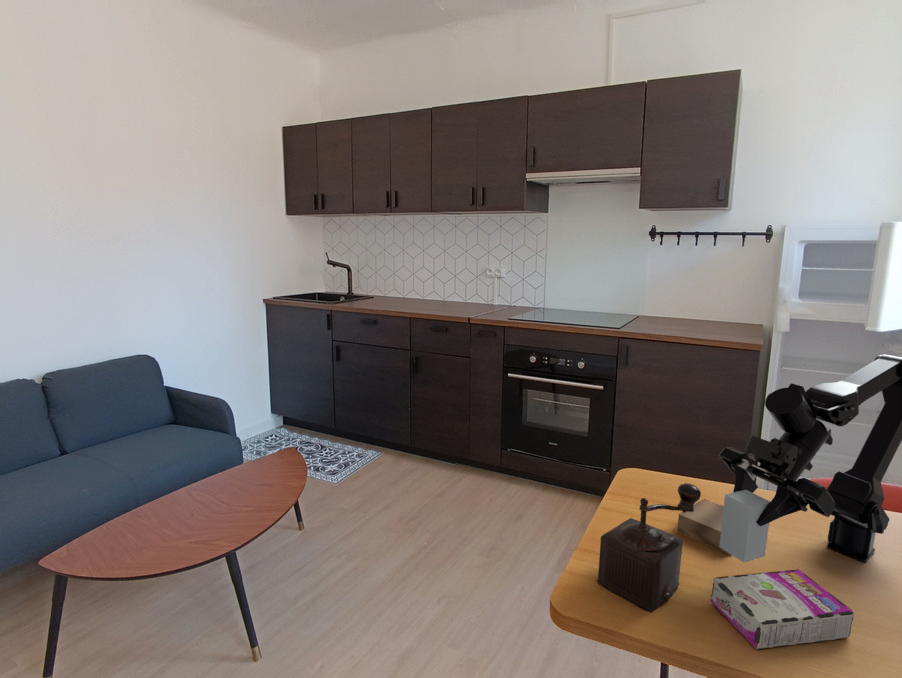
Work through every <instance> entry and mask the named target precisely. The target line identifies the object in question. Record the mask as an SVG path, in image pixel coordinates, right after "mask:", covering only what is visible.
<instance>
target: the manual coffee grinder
mask: <svg viewBox="0 0 902 678" xmlns="http://www.w3.org/2000/svg"><path fill="white" fill-rule="evenodd" d="M677 493H678V495H679V498H680V500H679V502H678V503H677V506H676V505H671V504H663V503H656V504H651V505H648V504H649V500H648V498H646V497H642V498H641V499H640V500H639V501H640V502H639V503H640V505H639V510H640V519H639V520H637V519H635V518H632V517H630V518H628V519H627V520H626V519H625V521H623V522H621V523H620V524H618V525H617V526H615V527H613V528H611V530H608V531H607V532H605V533H604V534H602V535H601V536H600V548H599V559H598V560H599V563H598V575H597V585H599V586H601V587H602V588H604V589H606V591H609V592H611V593H613V594H615V595H616V596H619V597H620V598H622V599H623V600H625V601H627V602H629V603H630V604H632V605H635V606H636V607H638V608H640V609H642V610H643V611H645V612H649V613H652V612H653V611H655V610H657V608H659V607H660V606H662V605H663V604H664V603H666V602H668V601H669V600H670V599H671V598H672V597H673V594H674V593H675V592H676V591H677V590H678V587H679V586H680V575H681V574H680V573H681V564H682V563H681V562H682V553H683V544H684V539H682V538H680V537H678V536H676V535H674V534H672V533H669V532H667V531H665V530H662V529H659V528H657V527H655V526H653V525H650V524H648V523H647V512H652V511H656V510H668V511H669V510H670V511H677V512H678V511H680V512H683V513H685V512H687V511H689V512H694V508H693V505H695V504H696V502H699V501H700V498H701V494H702V493H701V490H700V488H698V486H697V485H694V484H692V483H687V482H685V483H680V484H679V485H678V487H677Z"/></svg>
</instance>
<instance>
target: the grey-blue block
mask: <svg viewBox="0 0 902 678" xmlns="http://www.w3.org/2000/svg"><path fill="white" fill-rule="evenodd" d="M723 500H724V502H723V506H724V509H723V518H722V527H721V536H720V545H719V547H720V548H722V549H723V550H725V551H726V552H728V553H730V554H731V555H730V556H733V558H736V559H737V560H739V561H741V562H742V563H747V562H751V561H754V560H757V559H760V558H763V557H765V556H766V550H767V544H768V542H767V541H768V535H769V534H768V533H769V527H770V522H769V523H767V524H765V525H763V526H759V525H758V524H757V523H756V522H757V520H758V518H759V517H760V515H761V513H762V512H763V511H764V510H765V508H766V507H767V506H768V504H769V503H770V502H771V500H767V499H766V498H763V497H762V496H760V495H758V494H756V493H755V492H753V493H752V492H750V491H748V490H742V491H738V492H734V493H733V492H730V493H725V495H724V499H723Z"/></svg>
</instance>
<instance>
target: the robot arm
mask: <svg viewBox="0 0 902 678" xmlns="http://www.w3.org/2000/svg"><path fill="white" fill-rule="evenodd" d="M880 392H882V397H883V401H884V403H883V406H882V408H881V410H880V412H879V414H878V416H877V418H876V420H875V422H874V424H873V427H872V428H871V430H870V432H869V434H868V435H867V438H866V439H865V441H864V444H863V446H862V448H861V449H860V451H859V453H858V455H857V457H856V459H855V461H854V463H853V465H852V466H851V468H850V469H848V470H846V471H845V472H842V471H840V470H839V471H837V472H836V473H835V474H833V478H832V481H831V483H829V485H828V486H827V487H826V486H824V485H822V484H820V483H817V482H815V481H813V480H810V479H807V478H806V477H801V478H799V477H800V476H802V474H803V472H804V471H805V470H807V471H809V472H810V471H811V470H812V468H813V467H814V466H813V464H812V460H813V459H814V458H815V456H816V454H817V453H818V452H819V451H820V449H821V448H822V447H823V445H824V444H825V445H829V446H831V445H833V440H834V439H833V437H832V430H831V428H828V427H826V425H825V424H824V423H823V422H825V423H826V424H827V423H828V424H831V425H832V426H837V427H844V426H846V425H848V424H849V423H850V422H851V421H853V419H855V418H856V417H857V416H858V415H859V414H860V413H859V412H860V411H859V410H860V406H861V405H862V404H863V403H864V402H866V401H867V400H869V399H871V398H872V397H874V396H875V395H877V394H879V393H880ZM764 404H765V405H764V406H765V408H766V409H767V411H768V413H769V414H770V416H771V417H772V419H773V420H774V421H775V423H776V424H777V426H778V427H779V429H781V431H783V434H781V436H780V438H779V439H778V438H776V437H773V438H771V439H770V441H769V440H766V439H763V438H761V437H758V436H755V435H753V434H751V436H750V437H749V439H748V441H747V443H746V446H745V449H744V452H743V451H741V450H739V449H737V448H735V447H732V446H726V447H724V448H723V449H722V450H721V451H720V453H718V455H717V456H718V458H719V459H720V460H721V461H722V462H723V464H724V465H725V466H726V467H727V469H729V471H730V472H731V473H733V474H734V475H735V479H734V480H735V482H734V485H733V486H734V487H733V492H732V493H734V492H738V491H742V490H748V491H750V492H752V493H755V491H757V489H758V488H759V486H758V485H757V483H756V481H755V479H756V478H757V477H758V478H760V479H761V480H763V481H765V482H768V483H770V484H773V485H774V486H776V491H775V495H774V496H773V498H772V499H771V500H770V503H769V504H768V506H767V507H766V508H765V510H764V511H763V512H762V513H761V515H760V517H759V518H758V520H757V522H756V523H757V524H758V525H759V526H763V525H765V524H767V523H769V524H770V523H771V522H773V521H776V520H778V519H780V518H782V517H784V516H785V517H786V516H787V515H788V516H789V515H792V514H795V513H797V512H800V511H802V512H804V513H806V512H808V506H809V509H810V510H811V511H813V512H815V513H818V514H819V515H822V516H823V517H826V518H829V517H831V516H833V519H832V520H831V521H830V523H829V526H828V535H827V539H826V540H827V542H828V544H826V548H827V549H829V550H832V551H834V552H837V553H840V554H843V555H845V556H848V557H850V558H853V559H856V560H858V561H861V562H864V563H866V562H868V561H869V559H871V557H872V556H873V554H874V553H875V552H876V549H875V548H874V544H875V539H876V534H880V535H881V534H882V535H883V534H884V533H885V530H887V527H888V525H889V522H890V517H889V516H888V515H887V513H886V511H885V510H884V508H883V503H884V501H885V494H884V491H883V487H882V481H883V479H884V476H885V474H886V472H887V470H888V468H889V466H890V464H891V463H892V460H893V458H894V456H895V455H896V453H897V450H898V449H899V447H900V445H901V443H902V356H896V355H891V354H890V355H889V354H879V355H877V356H876V357H875V358H874V359H873V361H872V362H870V363H869V364H866V365H865V366H863V367H862V368H860V369H859V370H856V371H855V372H853V373H852V374H850V375H847V376H846V377H845V378H843V379H841V380H840V381H837V382H822V383H820V384H819V383H818V384H817V385H813V386H811V387H809V388H808V389H805V387H804V386H803V385H800V384H796V383H791V382H790V384H789V385H788V386H787V387H781V388H778V389H776V390H774V391H773V392H771V393H769V394H768V395H767V396H766V398H765V400H764ZM748 454H752V455H754V457H753V459H754V460H755V461H756V462H757V463H759V464H756V463H755V462H753V461H752V459H750V457H749V456H748Z"/></svg>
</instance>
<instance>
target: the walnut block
mask: <svg viewBox="0 0 902 678" xmlns="http://www.w3.org/2000/svg"><path fill="white" fill-rule="evenodd" d="M693 508H694V512H689V511H687V512H685V513H683V511H681V512H680V513H678V520H677V528H676V529H677V530H676V532H677V533H678V534H681V535H683V536H686V537H687V538H690V539H693V540H694V541H697V542H700V543H701V544H704V545H706V546H708V547H710V548H713V549H714V550H717V551H720V552H722V553H724V554H725V555H728V556H732V555H731V554H730V553H728V552H726V551H725V550H723V549H722V548H720V547H719V545H720V536H721V527H722V518H723V509H724V505H722V504H719V503H716V502H714V501H711V500H708V499H707V498H703V499H701V500H699V501H697V503H696V502H695V504H694V505H693Z"/></svg>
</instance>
